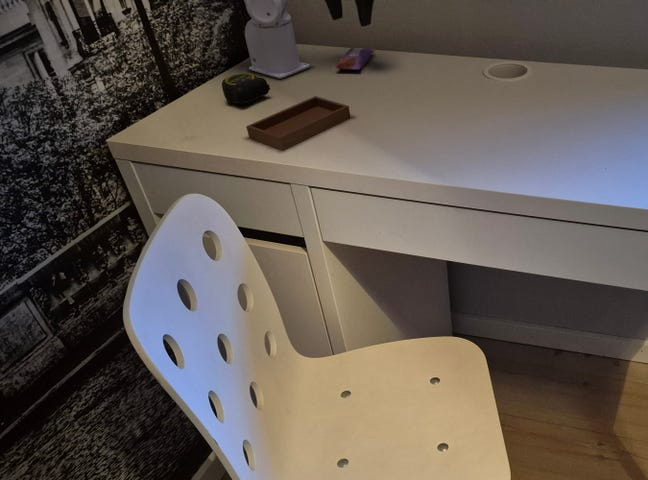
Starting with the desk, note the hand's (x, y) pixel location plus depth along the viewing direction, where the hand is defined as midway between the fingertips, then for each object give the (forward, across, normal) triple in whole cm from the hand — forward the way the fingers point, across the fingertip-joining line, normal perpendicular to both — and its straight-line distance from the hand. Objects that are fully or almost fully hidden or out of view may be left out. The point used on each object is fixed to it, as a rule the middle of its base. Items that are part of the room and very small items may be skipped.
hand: (351, 21), depth 127 cm
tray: (+8, -13, +27) cm, 31 cm away
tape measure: (+8, +4, +24) cm, 26 cm away
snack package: (+8, +1, -1) cm, 8 cm away
